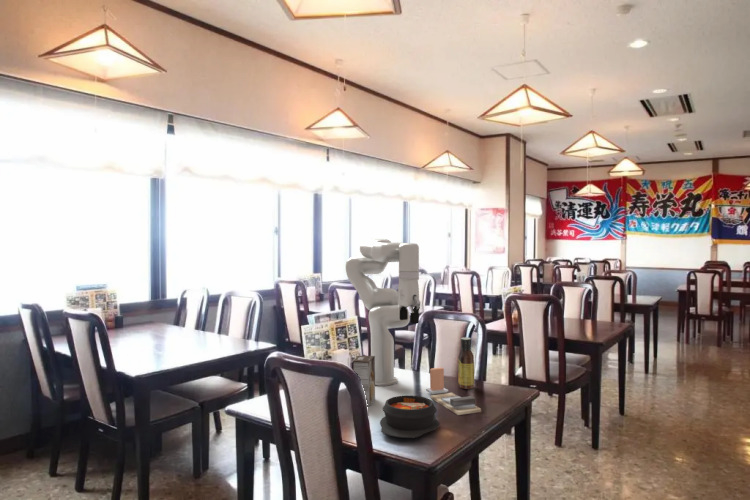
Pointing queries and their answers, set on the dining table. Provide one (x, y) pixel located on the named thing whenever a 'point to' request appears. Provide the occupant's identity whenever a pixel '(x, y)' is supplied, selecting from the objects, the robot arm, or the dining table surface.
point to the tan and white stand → (436, 381)
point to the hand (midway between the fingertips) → (409, 321)
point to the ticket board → (459, 412)
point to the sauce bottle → (466, 365)
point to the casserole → (408, 416)
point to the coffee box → (366, 375)
